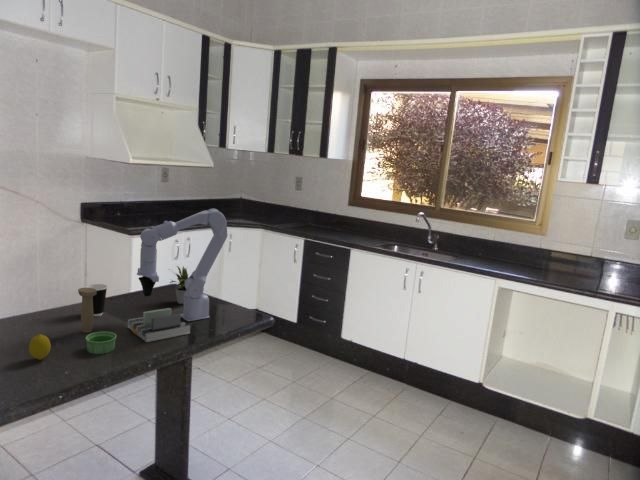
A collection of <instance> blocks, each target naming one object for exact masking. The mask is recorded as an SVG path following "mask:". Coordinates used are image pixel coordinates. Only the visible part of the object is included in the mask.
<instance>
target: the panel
mask: <svg viewBox="0 0 640 480" xmlns="http://www.w3.org/2000/svg"><path fill="white" fill-rule="evenodd" d="M172 313H173V311H172V308H171V307H166V308H160V309H154V310H148V311H143V312H142V315H143V316H142V317H143V325H146V324H151V323H152V318H157V317H163V316H169V315H173V314H172Z"/></svg>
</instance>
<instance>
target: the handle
mask: <svg viewBox="0 0 640 480" xmlns="http://www.w3.org/2000/svg"><path fill="white" fill-rule="evenodd" d="M77 293H78V295H79V296H80V297H81V310H80V311H81V312H80V326H81V330H82V333H86V334H90V333H93V332H92V331H93V326H94V317H95V316H94V314H93V296H94V295H96V294H97V290H96V289H93V288H85V287H81V288H78V291H77Z"/></svg>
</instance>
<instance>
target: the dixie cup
mask: <svg viewBox="0 0 640 480" xmlns="http://www.w3.org/2000/svg"><path fill="white" fill-rule="evenodd" d="M84 288H93V289H96V290H97V294H96V295H94V296H93V314H94V317H101V316H103V315H102V314H104V311H105V305H106V296H107V289H108V285H106V284H104V283H103V284H102V283H93V284H92V283H91V284H88V285H85V286H84Z"/></svg>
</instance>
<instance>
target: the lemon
mask: <svg viewBox="0 0 640 480" xmlns="http://www.w3.org/2000/svg"><path fill="white" fill-rule="evenodd" d="M51 347H52V346H51V341H50V339H49V337H47V336H46V335H44V334H41V333H38V334H37V335H35V336H33V337H32V339H31V340H30V342H29V344H28V352H29V354H30V356H31V357H32V358H34V359H37V360H38V361H42V360H43V358H46V357H47V356H48V355H49V354H50V352H51Z"/></svg>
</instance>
